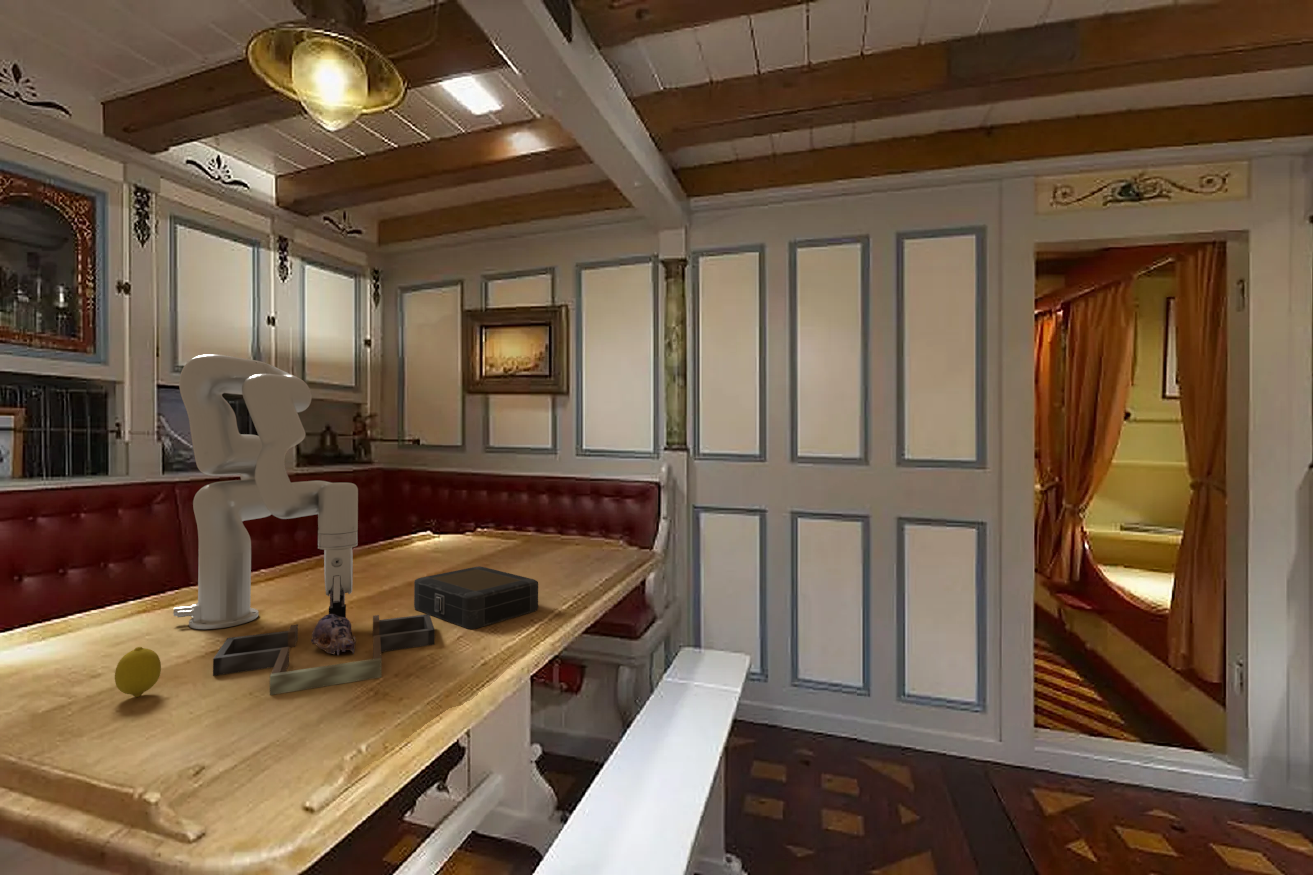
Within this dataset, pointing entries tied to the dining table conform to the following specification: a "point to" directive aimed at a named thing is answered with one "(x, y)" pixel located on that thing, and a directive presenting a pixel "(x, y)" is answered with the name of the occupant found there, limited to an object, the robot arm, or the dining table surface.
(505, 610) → the cash box
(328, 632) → the skull
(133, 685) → the lemon
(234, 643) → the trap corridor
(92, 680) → the dining table surface
